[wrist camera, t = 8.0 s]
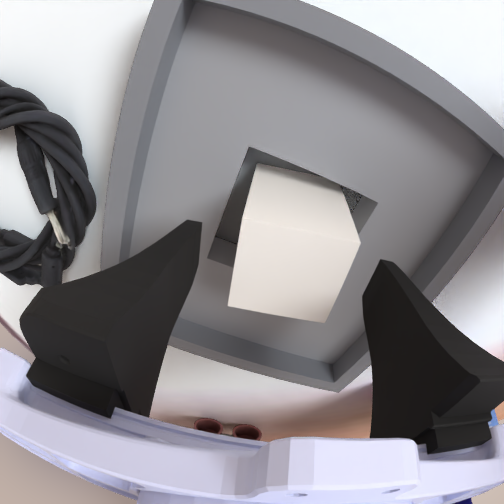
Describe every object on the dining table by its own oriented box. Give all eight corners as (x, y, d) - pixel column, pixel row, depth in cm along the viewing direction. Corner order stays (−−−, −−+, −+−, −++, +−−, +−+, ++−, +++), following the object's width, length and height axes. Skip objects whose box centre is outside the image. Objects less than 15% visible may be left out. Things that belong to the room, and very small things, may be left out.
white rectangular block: (338, 180, 15) (360, 242, 10) (317, 247, 17) (324, 323, 12) (257, 162, 14) (242, 217, 10) (244, 233, 17) (227, 306, 12)
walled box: (492, 134, 12) (531, 158, 9) (335, 352, 22) (338, 392, 19) (194, -14, 10) (167, -32, 7) (121, 280, 20) (100, 317, 17)
